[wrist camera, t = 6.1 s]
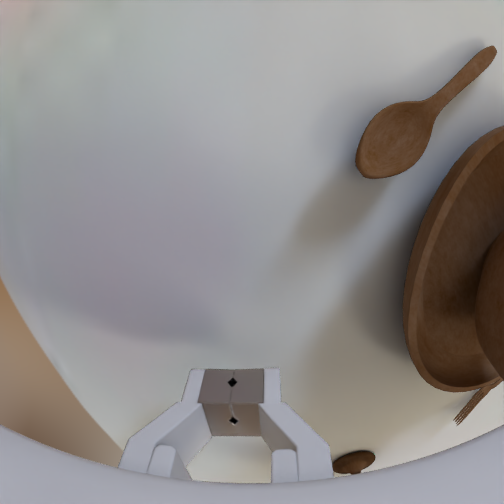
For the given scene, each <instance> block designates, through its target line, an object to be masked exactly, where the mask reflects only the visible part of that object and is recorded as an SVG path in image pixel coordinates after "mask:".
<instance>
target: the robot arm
mask: <svg viewBox="0 0 504 504" xmlns="http://www.w3.org/2000/svg"><path fill="white" fill-rule="evenodd" d="M212 436H262V438H263V439H264V441H265V442H266V444H267V445H268V446H269V448H270V449H271V450H272V452H273V453H272V459H271V483H221V482H206V481H194V480H192V478H191V476H190V475H189V473H188V471H187V469H186V468H185V467H186V466H187V465H188V463H189V462H190V461H191V460H192V459H193V458H194V457H195V456H196V455H197V454H198V453H199V451H200V450H201V449H202V448H203V447H204V446H205V445H206V444H207V442H208V441H209V440H210V439H211V438H212ZM0 504H504V425H502V426H500V427H498V428H496V429H494V430H492V431H490V432H488V433H485V434H483V435H481V436H479V437H477V438H474V439H472V440H470V441H467V442H465V443H462V444H460V445H457V446H455V447H452V448H449V449H447V450H444V451H441V452H438V453H435V454H432V455H429V456H426V457H423V458H420V459H417V460H413V461H410V462H406V463H403V464H399V465H395V466H391V467H387V468H383V469H378V470H374V471H369V472H364V473H359V474H354V475H348V476H341V477H335V478H334V474H333V468H332V461H331V455H330V449H329V444H328V443H327V442H326V441H325V440H324V439H323V438H321V437H320V436H319V435H318V434H317V433H316V432H315V431H314V430H313V429H312V428H311V427H310V426H309V425H308V424H307V423H306V422H305V421H304V420H303V419H302V418H301V417H300V416H299V415H298V414H297V413H296V412H295V411H294V410H293V409H292V408H291V407H290V406H289V405H288V404H287V403H281V385H280V369H279V367H275V368H261V369H235V370H229V369H192V370H191V371H190V373H189V376H188V379H187V383H186V386H185V390H184V393H183V396H182V400H181V402H176V403H175V404H174V405H172V406H171V407H170V408H169V409H167V410H166V411H165V412H163V413H162V414H161V415H160V416H158V417H157V418H156V419H154V420H153V421H152V422H150V423H149V424H148V425H146V426H145V427H144V428H142V429H141V430H140V431H138V432H137V433H136V434H134V435H133V436H132V437H130V438H129V439H128V442H127V444H126V447H125V450H124V452H123V455H122V458H121V460H120V463H119V465H118V468H117V467H113V466H109V465H105V464H101V463H98V462H94V461H91V460H88V459H84V458H81V457H78V456H75V455H72V454H69V453H66V452H63V451H60V450H57V449H55V448H52V447H49V446H47V445H45V444H42V443H40V442H37V441H35V440H32V439H30V438H28V437H26V436H23V435H21V434H19V433H17V432H15V431H13V430H11V429H9V428H7V427H4V426H3V425H1V424H0Z"/></svg>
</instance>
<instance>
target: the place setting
mask: <svg viewBox="0 0 504 504" xmlns="http://www.w3.org/2000/svg"><path fill="white" fill-rule="evenodd" d="M496 53H497V50H496V48H495V47H494V46H489V47H487V48H485V49H483V50H481V51H480V52H479V53H478V54H476V55H475V56H474V57H473V58H472V59H471V60H470V61H469V62H468V63H467V64H466V65H465V66H464V67H463V68H462V69H461V70H460V71H459V72H458V73H457V74H456V75H455V76H454V77H453V78H452V79H451V80H450V81H449V82H448V83H447V84H446V85H445V86H444V87H443V88H442V89H441V90H439V91H438V92H437V93H436V94H434V95H433V96H432V97H430V98H428V99H426V100H423V101H406V102H399V103H395V104H392V105H390V106H388V107H386V108H384V109H382V110H381V111H380V112H379V113H377V114H376V115H375V116H374V118H373V119H372V120H371V121H370V122H369V124H368V126H367V127H366V129H365V131H364V133H363V135H362V137H361V140H360V143H359V145H358V149H357V152H356V159H355V163H356V167H357V169H358V170H359V171H360V173H361V174H362V175H363V176H364V177H365V178H369V179H379V178H386V177H391V176H394V175H397V174H400V173H402V172H404V171H406V170H407V169H409V168H410V167H412V166H413V165H414V164H415V163H416V162H417V161H418V160H419V159H420V157H421V156H422V154H423V153H424V151H425V149H426V147H427V145H428V142H429V139H430V136H431V132H432V128H433V124H434V121H435V119H436V117H437V116H438V114H439V113H440V111H441V110H442V109H443V108H444V107H445V106H446V105H447V104H448V103H449V102H450V101H451V100H452V99H453V98H454V97H455V96H456V95H457V94H458V93H459V92H461V91H462V90H463V89H464V88H465V87H466V86H467V85H469V84H470V83H471V82H472V81H473V80H474V79H475V78H477V77H478V76H479V75H480V74H481V73H482V72H483V71H484V70H485V69H486V68H487V67H488V66H489V65H490V64H491V62H492V61H493V59H494V58H495V56H496ZM403 328H404V334H405V340H406V345H407V348H408V351H409V354H410V357H411V359H412V361H413V363H414V365H415V367H416V369H417V370H418V372H419V374H420V375H421V377H422V378H423V379H424V380H425V381H426V382H427V383H429V384H430V385H432V386H433V387H435V388H437V389H440V390H443V391H448V392H466V391H471V390H476V389H479V388H481V389H480V390H479V391H478V392H477V393H476V394H475V395H474V396H473V397H472V399H471V400H470V401H469V402H468V403H467V404H466V406H465V407H464V408H463V409H462V410H461V411H460V413H459V414H458V415H457V416H456V417H455V419H456V418H457V417H458V416H459V415H460V414H461V413H462V414H461V415H460V416H459V417H458V418H457V420H458V419H459V418H460V417H461V416H462V415H463V416H462V417H461V418H460V419H459V420H458V422H459V421H460V420H461V419H462V418H463V419H462V420H461V421H460V422H459V423H458V422H457V423H458V425H459V424H460V423H461V422H462V421H463V420H464V419H465V418H466V417H467V416H468V414H469V413H470V412H471V411H472V410H473V409H474V408H475V406H476V405H477V404H478V403H479V402H480V401H481V400H482V399H483V398H484V397H485V396H486V395H487V394H488V392H489V391H490V390H491V389H493V388H495V387H496V386H497V385H498V384H500V383H501V382H502V381H504V126H502V127H499V128H496V129H494V130H492V131H490V132H489V133H487V134H485V135H484V136H482V137H480V138H479V139H478V140H477V141H476V142H475V143H474V144H472V145H471V146H470V147H469V148H468V149H467V150H466V151H465V152H464V153H463V154H462V156H461V157H460V158H459V159H458V160H457V161H456V162H455V163H454V165H453V166H452V168H451V169H450V171H449V172H448V174H447V175H446V177H445V178H444V179H443V181H442V183H441V185H440V186H439V188H438V190H437V192H436V193H435V195H434V197H433V199H432V201H431V203H430V205H429V207H428V210H427V212H426V214H425V216H424V218H423V220H422V223H421V226H420V229H419V232H418V234H417V237H416V240H415V242H414V246H413V250H412V253H411V257H410V261H409V264H408V269H407V275H406V280H405V286H404V297H403ZM491 383H492V384H491ZM473 399H474V400H473ZM472 400H473V401H472ZM474 401H475V402H474ZM475 403H476V404H475ZM467 406H468V407H467ZM466 407H467V408H466ZM465 408H466V409H465ZM468 408H469V409H468ZM467 409H468V410H467ZM469 410H470V411H469ZM468 411H469V412H468ZM455 419H454V420H455ZM454 420H453V421H454ZM457 420H456V421H457ZM456 421H455V422H456ZM457 423H456V424H457ZM458 425H457V426H458ZM374 460H375V455H374V454H373V453H372V452H368V451H362V452H355V453H351V454H348V455H345V456H343V457H341V458H339V459H338V460H336V461H335V462H334V463H333V465H332V468H333V471H334V472H336V473H341V474H347V473H350V474H351V475H354V474H359V473H361V470H362V469H365V468H366V467H368V466H370V465H371V464H372V463H373V462H374Z"/></svg>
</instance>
